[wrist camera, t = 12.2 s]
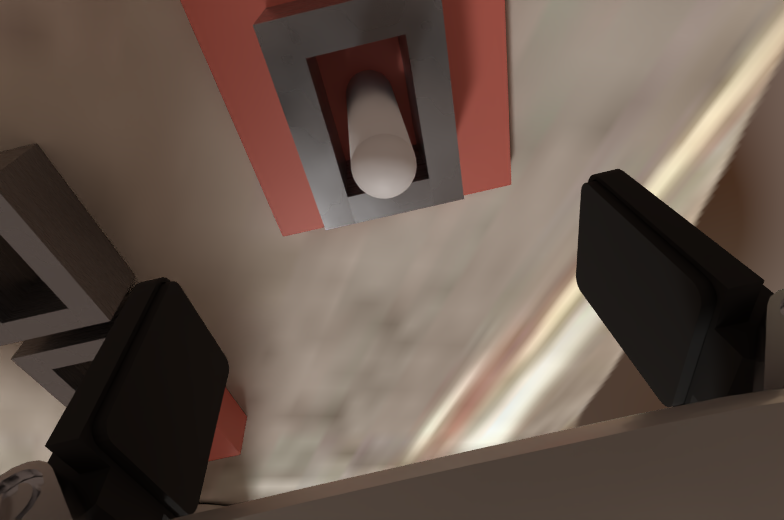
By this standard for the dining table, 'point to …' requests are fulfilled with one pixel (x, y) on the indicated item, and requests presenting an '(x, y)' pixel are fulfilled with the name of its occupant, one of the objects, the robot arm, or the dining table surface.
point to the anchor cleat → (228, 429)
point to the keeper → (361, 104)
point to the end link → (313, 113)
